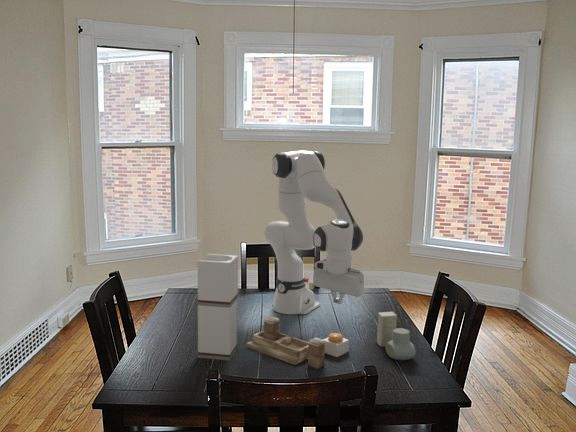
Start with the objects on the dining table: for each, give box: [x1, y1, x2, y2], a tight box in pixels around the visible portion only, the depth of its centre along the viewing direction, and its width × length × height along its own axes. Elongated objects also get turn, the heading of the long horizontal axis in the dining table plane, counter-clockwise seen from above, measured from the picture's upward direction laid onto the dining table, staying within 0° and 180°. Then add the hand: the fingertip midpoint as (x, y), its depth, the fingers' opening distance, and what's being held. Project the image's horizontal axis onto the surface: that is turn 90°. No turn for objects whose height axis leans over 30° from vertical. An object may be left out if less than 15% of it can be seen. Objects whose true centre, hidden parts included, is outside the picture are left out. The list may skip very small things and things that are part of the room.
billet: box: [307, 337, 326, 369], centre depth 197 cm, size 4×4×9 cm
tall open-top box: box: [197, 253, 239, 362], centre depth 203 cm, size 11×11×35 cm
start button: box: [328, 332, 344, 343], centre depth 208 cm, size 5×5×3 cm
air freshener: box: [385, 327, 417, 361], centre depth 205 cm, size 11×8×10 cm
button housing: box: [322, 336, 350, 358], centre depth 209 cm, size 7×7×4 cm
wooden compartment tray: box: [246, 316, 309, 366], centre depth 209 cm, size 14×23×10 cm, turn 50°
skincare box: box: [376, 311, 398, 347], centre depth 216 cm, size 6×4×12 cm
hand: (337, 303), depth 206 cm, fingers closed
